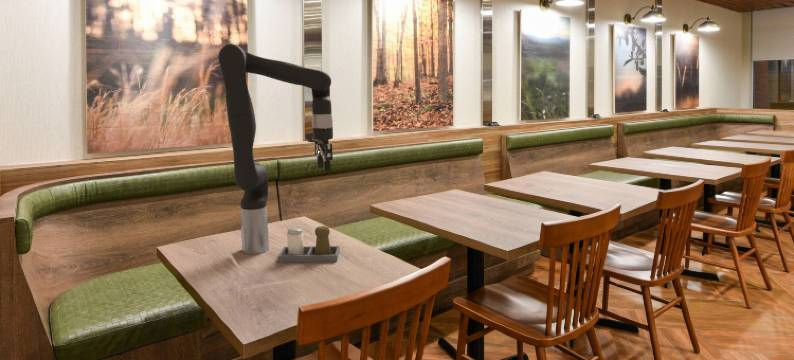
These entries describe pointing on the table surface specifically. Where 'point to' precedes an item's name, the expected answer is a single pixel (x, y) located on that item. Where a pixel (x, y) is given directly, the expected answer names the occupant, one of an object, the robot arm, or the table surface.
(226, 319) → the table surface
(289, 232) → the salt shaker
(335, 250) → the caddy
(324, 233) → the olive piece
